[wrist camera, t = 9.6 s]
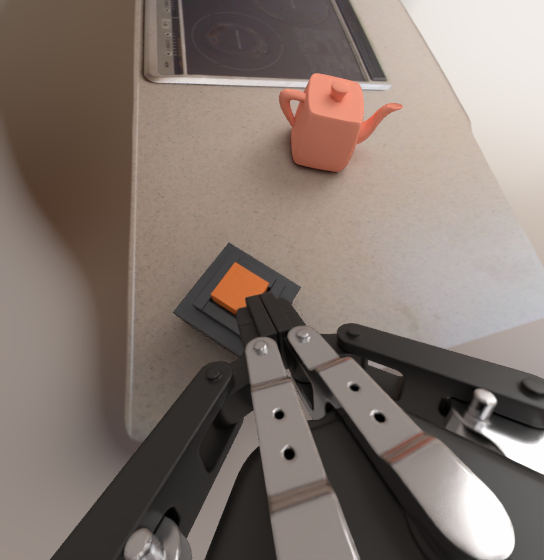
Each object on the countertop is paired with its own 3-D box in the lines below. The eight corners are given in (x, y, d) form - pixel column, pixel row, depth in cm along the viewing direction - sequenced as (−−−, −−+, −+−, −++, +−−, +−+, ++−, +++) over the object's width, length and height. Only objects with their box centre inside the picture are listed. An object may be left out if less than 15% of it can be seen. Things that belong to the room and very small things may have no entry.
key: (246, 322, 23) (246, 317, 21) (212, 300, 24) (210, 294, 22) (267, 290, 25) (269, 283, 23) (235, 270, 25) (235, 261, 23)
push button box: (251, 365, 28) (255, 365, 22) (183, 321, 29) (167, 308, 22) (291, 298, 32) (305, 281, 25) (230, 260, 33) (228, 234, 26)
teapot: (275, 118, 43) (286, 46, 34) (368, 137, 45) (404, 74, 35) (268, 165, 39) (278, 99, 30) (370, 184, 41) (412, 128, 31)
